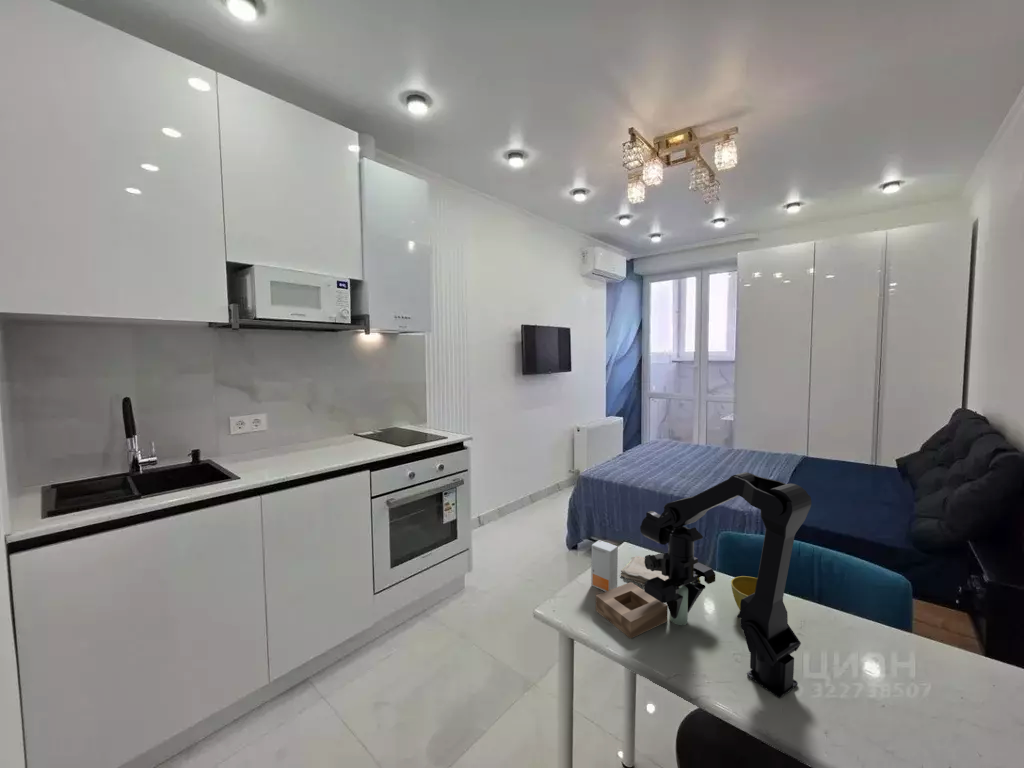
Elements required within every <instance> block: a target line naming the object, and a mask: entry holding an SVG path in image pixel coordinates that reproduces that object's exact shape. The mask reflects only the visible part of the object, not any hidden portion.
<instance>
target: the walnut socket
mask: <svg viewBox="0 0 1024 768" xmlns="http://www.w3.org/2000/svg"><path fill="white" fill-rule="evenodd" d="M595 611H596V612H597V613H598V614H599V615H600V616H602V618H604V619H605V620H607V621H608V622H609V623H610V624H612V626H614V627H615V628H617V629H618V630H619V631H620V632H622V633H623V634H624V635H626V636H627V637H628V638H629V639H633V638H635V637H637V636H639V635H641V634H643V633H646V632H648V631H650V630H652V629H654V628H657V627H658V626H661V625H662V624H664V623H666V622H668V613H669V612H668V611H669V608H668V605H667V603H662V602H660V601H659V600H657V599H655V598H654V597H652V596H651V595H649V594H647V593H646V592H645V591H644V588H643V589H642V588H641V587H639V586H638V585H637V584H635V583H633V581H630V582H627V583H624V584H622V585H619V586H617V587H616V588H614V589H611V590H609V591H606V592H605V591H604V592H601V593H599V594H596V595H595Z"/></svg>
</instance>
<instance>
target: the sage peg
mask: <svg viewBox="0 0 1024 768" xmlns="http://www.w3.org/2000/svg"><path fill="white" fill-rule="evenodd" d="M679 594H680V595H681V596H683V599H682V603H681V606H680V609H679V612H678V615H677V618H676V619H674V618H673V617H672V616H671V614H670V613H669V621H670V622H671V623H673V624H675V625H677V626H685V625H687V624H688V619H689V618H688V616H689V615H688V614H689V613H688V588H687V587H686V586H681V587H679Z"/></svg>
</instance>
